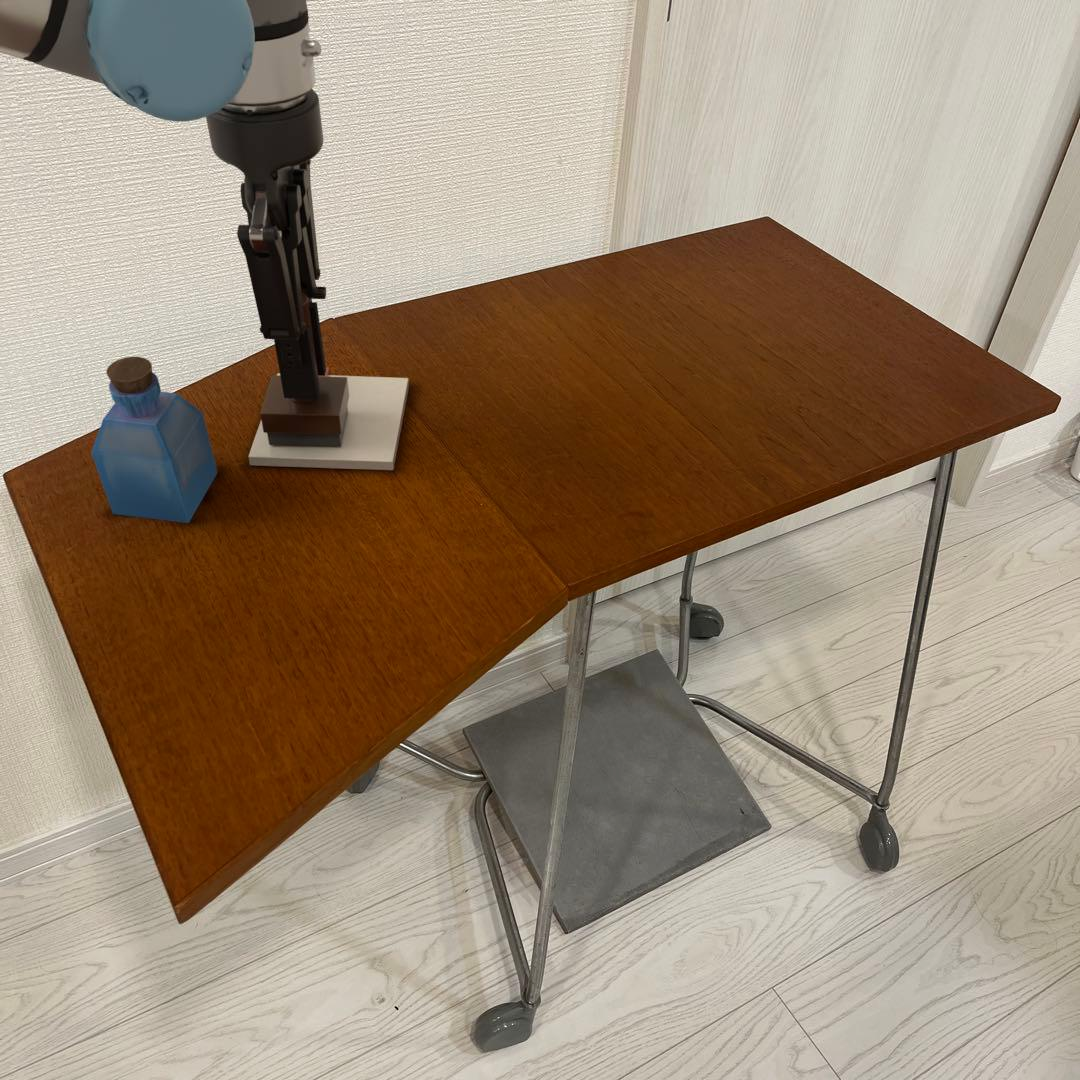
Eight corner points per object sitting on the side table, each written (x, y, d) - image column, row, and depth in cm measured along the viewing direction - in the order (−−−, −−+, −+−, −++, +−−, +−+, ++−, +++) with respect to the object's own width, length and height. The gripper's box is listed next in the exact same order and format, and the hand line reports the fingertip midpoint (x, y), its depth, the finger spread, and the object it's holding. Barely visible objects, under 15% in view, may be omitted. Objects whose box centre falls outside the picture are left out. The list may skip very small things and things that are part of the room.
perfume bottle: (145, 464, 84) (107, 341, 76) (217, 472, 84) (186, 349, 75) (113, 513, 80) (68, 389, 71) (188, 523, 79) (152, 398, 71)
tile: (249, 465, 84) (247, 456, 84) (278, 381, 93) (277, 372, 92) (393, 470, 85) (392, 461, 84) (409, 386, 93) (408, 377, 93)
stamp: (266, 447, 85) (241, 317, 76) (277, 408, 88) (255, 280, 80) (343, 448, 85) (327, 319, 76) (350, 410, 89) (337, 282, 80)
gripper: (293, 142, 61) (335, 445, 78) (336, 52, 73) (364, 333, 89) (170, 137, 61) (237, 441, 78) (231, 48, 73) (279, 330, 89)
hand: (305, 383), depth 83 cm, fingers closed on stamp, 3 cm apart
